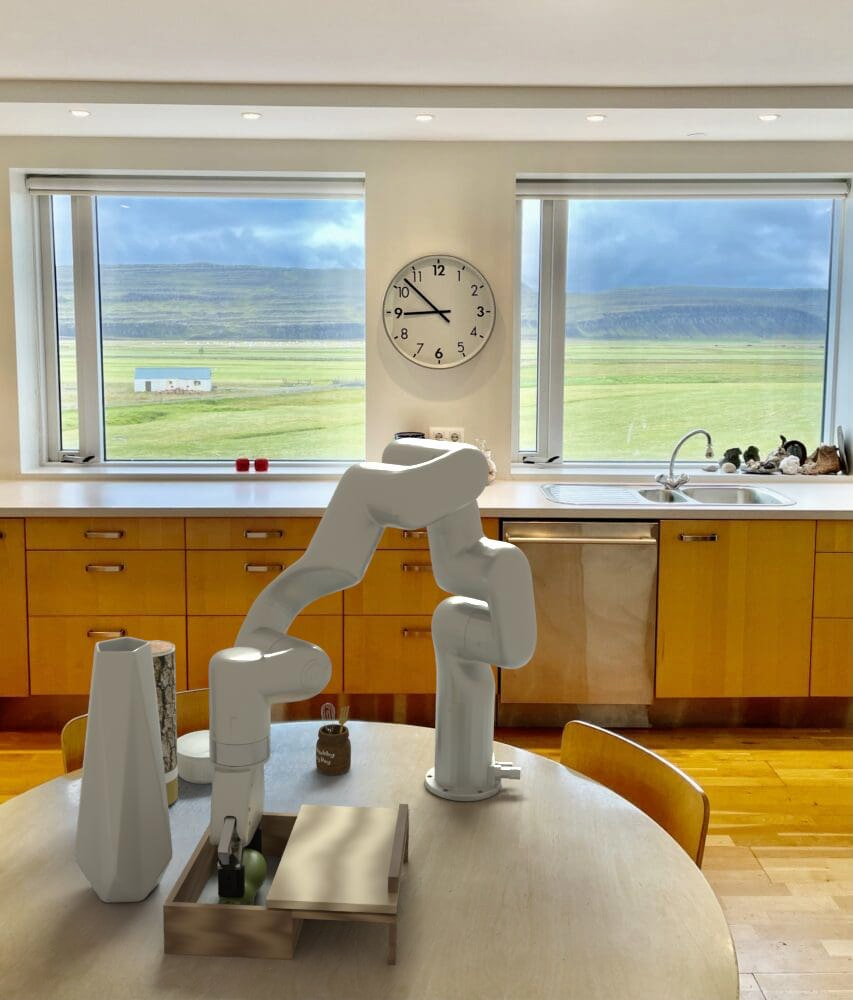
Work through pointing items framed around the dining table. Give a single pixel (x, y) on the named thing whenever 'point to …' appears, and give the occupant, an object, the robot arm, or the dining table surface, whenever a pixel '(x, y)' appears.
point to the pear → (249, 878)
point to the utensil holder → (334, 746)
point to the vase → (123, 777)
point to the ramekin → (195, 757)
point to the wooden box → (245, 908)
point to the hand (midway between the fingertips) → (240, 874)
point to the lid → (342, 860)
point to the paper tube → (167, 711)
